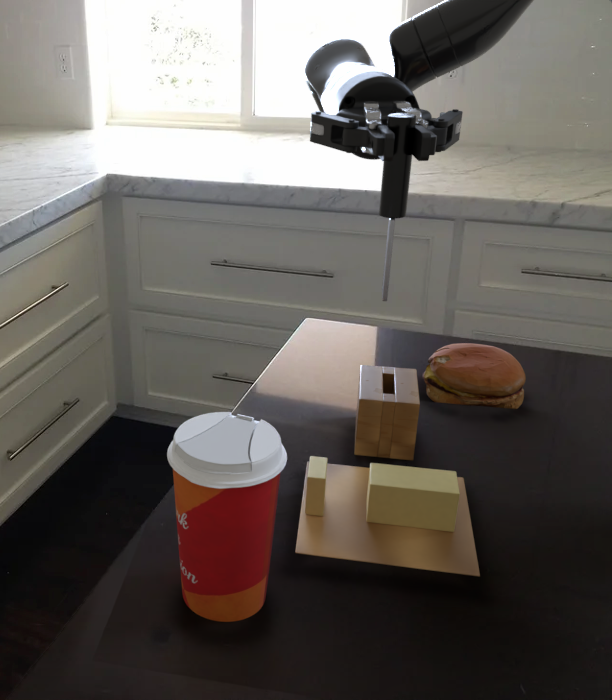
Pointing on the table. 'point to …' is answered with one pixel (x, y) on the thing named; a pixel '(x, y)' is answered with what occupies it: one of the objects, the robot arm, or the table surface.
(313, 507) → the butter pat
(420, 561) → the board
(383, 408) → the knife block
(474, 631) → the table surface
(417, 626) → the table surface
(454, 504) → the butter
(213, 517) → the paper cup
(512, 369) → the burger
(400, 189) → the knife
